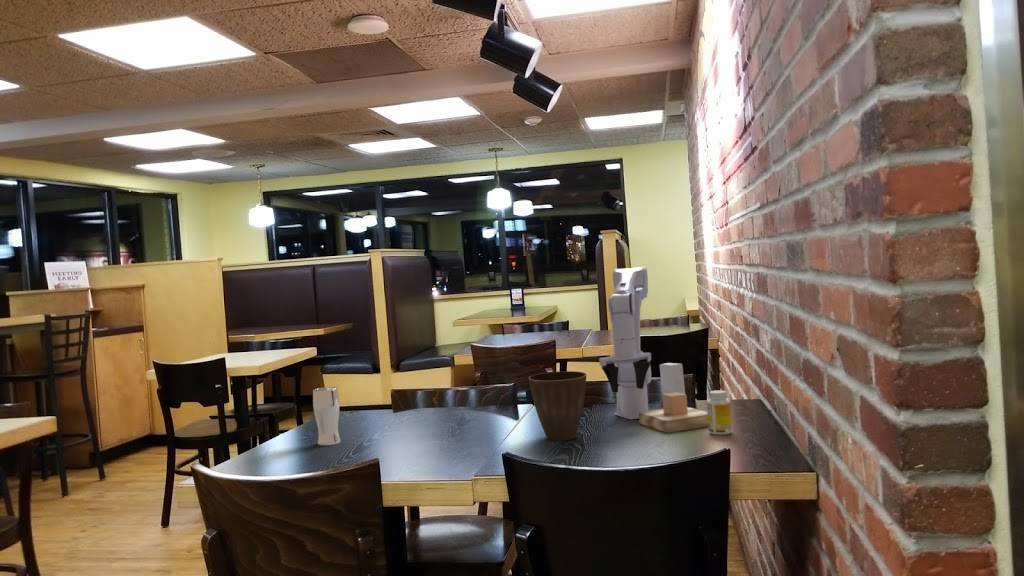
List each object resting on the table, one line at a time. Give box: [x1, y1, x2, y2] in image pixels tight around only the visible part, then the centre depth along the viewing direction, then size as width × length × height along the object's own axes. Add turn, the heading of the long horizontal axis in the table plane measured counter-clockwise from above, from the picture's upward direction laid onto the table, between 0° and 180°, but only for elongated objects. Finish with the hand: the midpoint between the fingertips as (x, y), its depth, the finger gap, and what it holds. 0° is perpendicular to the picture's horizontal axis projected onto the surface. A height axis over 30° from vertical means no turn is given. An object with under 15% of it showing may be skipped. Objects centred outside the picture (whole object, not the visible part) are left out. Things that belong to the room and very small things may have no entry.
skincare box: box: [659, 362, 686, 394], centre depth 218 cm, size 6×4×12 cm
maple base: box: [638, 406, 709, 434], centre depth 188 cm, size 14×14×3 cm
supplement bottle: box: [706, 389, 733, 436], centre depth 175 cm, size 6×6×10 cm
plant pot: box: [527, 370, 587, 442], centre depth 183 cm, size 15×15×16 cm
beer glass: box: [312, 386, 341, 447], centre depth 196 cm, size 7×7×15 cm
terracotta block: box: [662, 392, 688, 415], centre depth 188 cm, size 4×4×5 cm
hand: (627, 390), depth 189 cm, fingers open, 7 cm apart
